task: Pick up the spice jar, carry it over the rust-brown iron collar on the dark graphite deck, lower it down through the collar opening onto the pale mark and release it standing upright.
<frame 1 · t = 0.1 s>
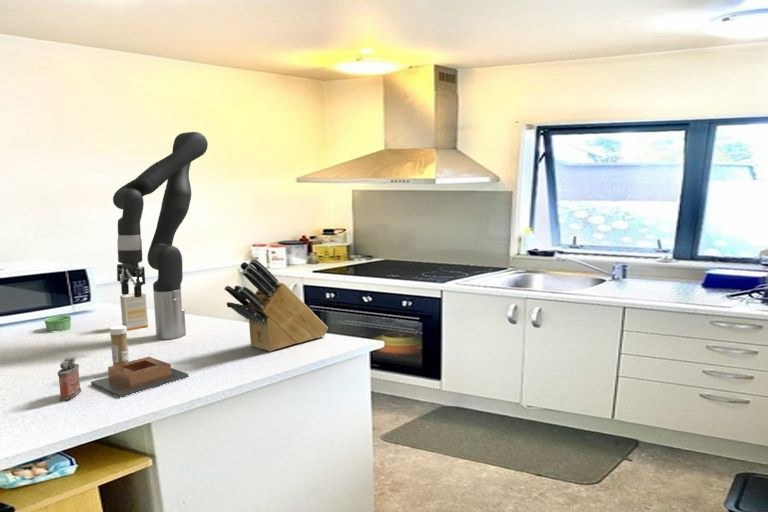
hand: (131, 295, 196), 17 cm above the counter, tool pointing down, fingers open, 8 cm apart
collar deck: (140, 381, 161), on the counter
spice jar: (121, 371, 170), on the counter
knife block: (279, 345, 197), on the counter
ramekin: (58, 330, 221), on the counter
lighter: (70, 396, 151), on the counter
supplement box: (135, 328, 222), on the counter
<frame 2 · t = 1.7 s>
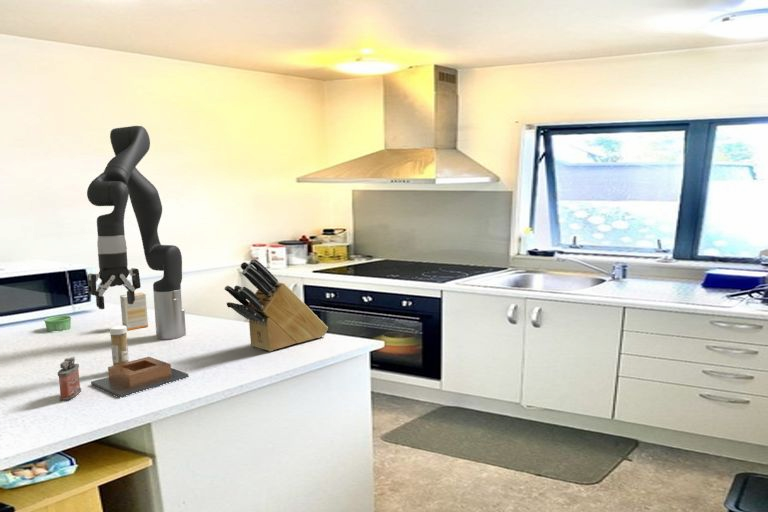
hand: (116, 306, 168), 20 cm above the counter, tool pointing down, fingers open, 8 cm apart
nothing on the counter moved.
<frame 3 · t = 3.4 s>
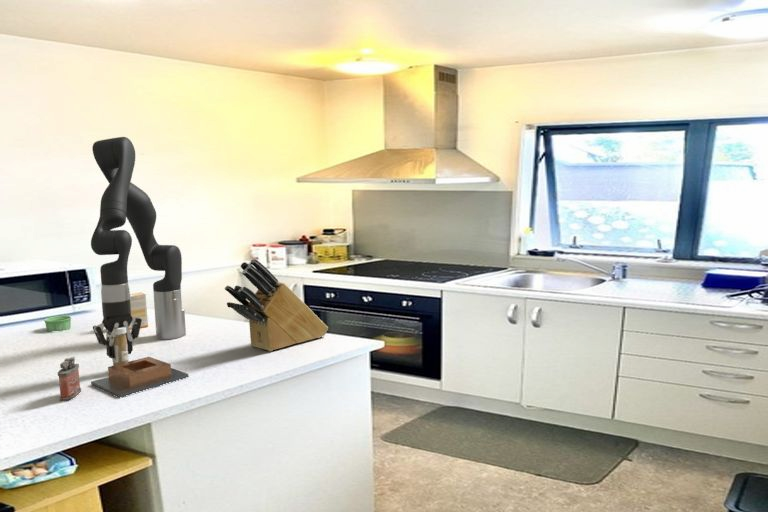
hand: (120, 355, 170), 5 cm above the counter, tool pointing down, fingers closed on spice jar, 4 cm apart
spice jar: (121, 371, 170), on the counter, touching gripper
everything else where it was.
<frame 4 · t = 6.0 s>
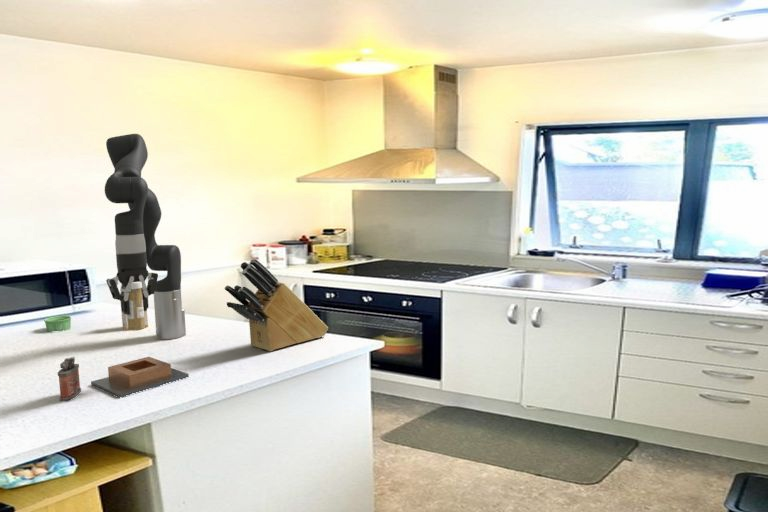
hand: (135, 312, 159), 20 cm above the counter, tool pointing down, fingers closed on spice jar, 4 cm apart
spice jar: (136, 329, 160), point 15 cm above the counter, touching gripper
everything else where it was.
when the fingers open (7 cm above the counter, at t = 8.2 s): spice jar stays where it is, resting on collar deck.
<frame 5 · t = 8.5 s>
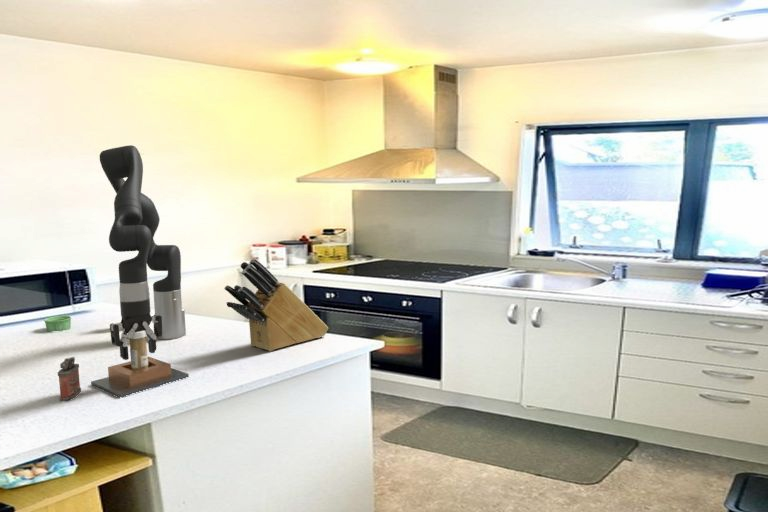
hand: (138, 355, 161), 7 cm above the counter, tool pointing down, fingers open, 7 cm apart
spice jar: (140, 377, 162), point 1 cm above the counter, touching collar deck
everything else where it was.
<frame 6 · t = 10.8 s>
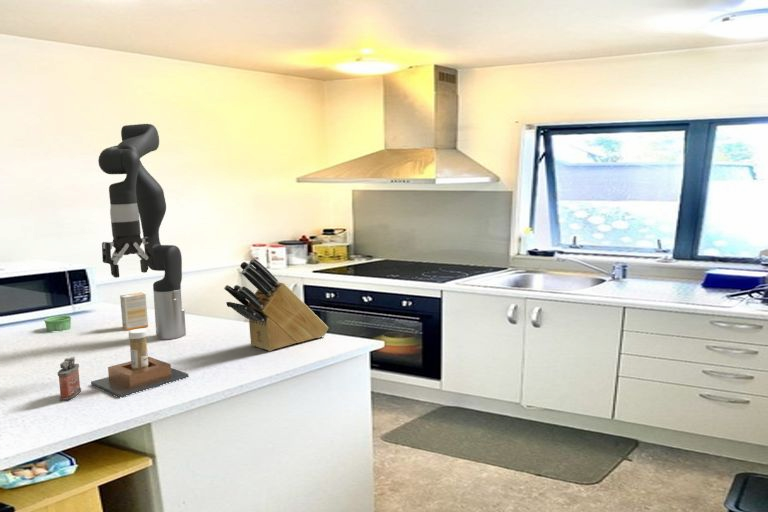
hand: (130, 274, 168), 29 cm above the counter, tool pointing down, fingers open, 8 cm apart
nothing on the counter moved.
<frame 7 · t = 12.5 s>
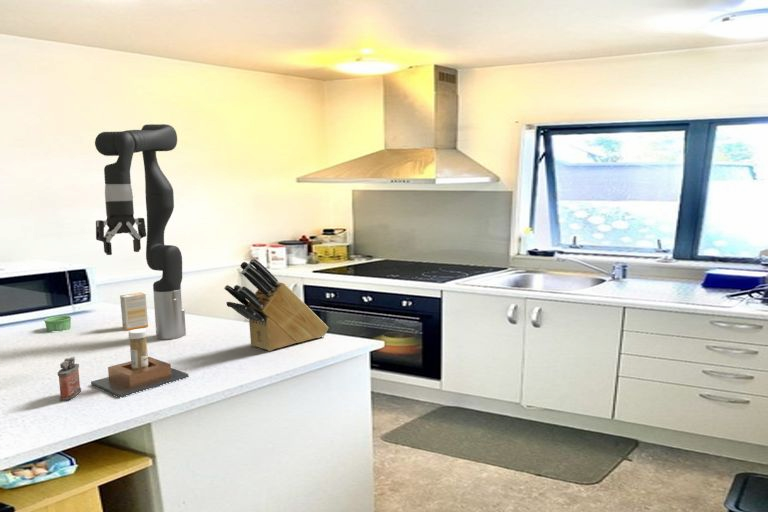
hand: (123, 253, 174), 34 cm above the counter, tool pointing down, fingers open, 8 cm apart
nothing on the counter moved.
at the end: spice jar 0.2 cm off-centre on the collar deck, point 0.9 cm above the collar deck's base; spice jar tilted 0°; the gripper is holding nothing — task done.
